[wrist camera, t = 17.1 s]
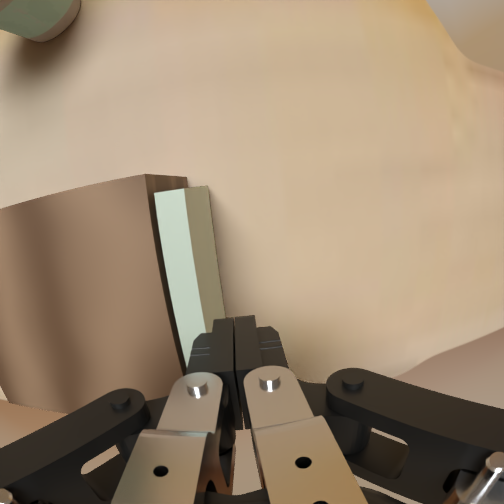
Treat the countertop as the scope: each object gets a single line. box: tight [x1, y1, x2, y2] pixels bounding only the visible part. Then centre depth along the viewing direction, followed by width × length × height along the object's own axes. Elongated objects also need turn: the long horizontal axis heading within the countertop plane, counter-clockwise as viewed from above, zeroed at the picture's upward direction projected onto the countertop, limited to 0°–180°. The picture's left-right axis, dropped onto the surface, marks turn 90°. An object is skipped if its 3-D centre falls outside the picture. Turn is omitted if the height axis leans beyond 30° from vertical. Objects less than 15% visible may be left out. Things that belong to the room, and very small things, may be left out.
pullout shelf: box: [154, 186, 226, 366], centre depth 17 cm, size 14×10×9 cm
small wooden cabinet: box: [0, 174, 188, 414], centre depth 17 cm, size 14×12×10 cm
